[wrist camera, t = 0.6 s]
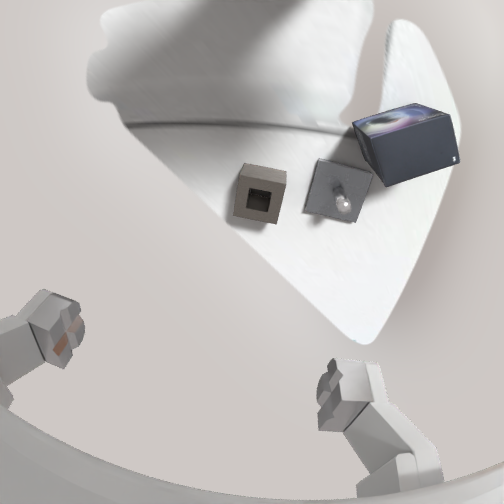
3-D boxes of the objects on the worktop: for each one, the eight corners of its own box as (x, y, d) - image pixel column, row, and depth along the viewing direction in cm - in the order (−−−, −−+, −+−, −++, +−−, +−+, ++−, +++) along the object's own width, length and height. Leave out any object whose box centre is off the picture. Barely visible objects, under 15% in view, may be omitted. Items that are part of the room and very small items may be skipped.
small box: (415, 99, 32) (452, 111, 23) (427, 141, 35) (462, 164, 26) (349, 120, 36) (369, 136, 27) (364, 162, 39) (386, 190, 30)
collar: (244, 163, 41) (239, 174, 37) (286, 171, 41) (286, 184, 37) (238, 200, 44) (232, 215, 40) (277, 208, 44) (276, 224, 40)
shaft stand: (318, 158, 39) (323, 172, 34) (371, 172, 39) (382, 188, 34) (305, 207, 44) (307, 228, 39) (354, 219, 44) (362, 240, 39)
